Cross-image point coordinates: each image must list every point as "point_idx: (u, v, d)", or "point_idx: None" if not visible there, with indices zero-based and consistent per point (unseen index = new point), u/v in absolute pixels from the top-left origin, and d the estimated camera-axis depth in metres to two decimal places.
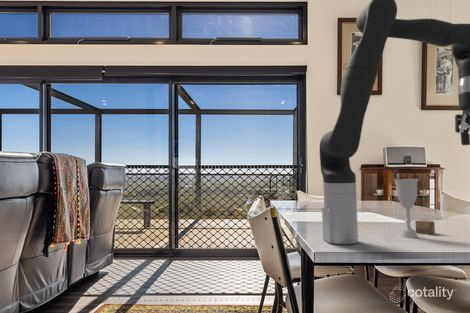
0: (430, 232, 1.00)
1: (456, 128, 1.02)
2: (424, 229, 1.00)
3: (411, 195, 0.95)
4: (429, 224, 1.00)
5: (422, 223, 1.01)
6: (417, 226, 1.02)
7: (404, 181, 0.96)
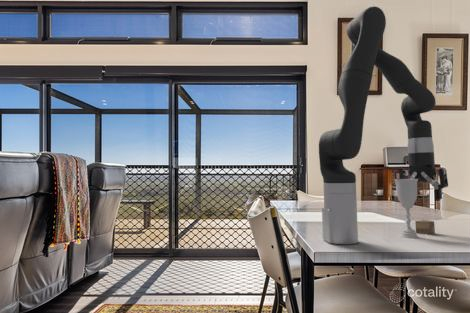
0: (430, 232, 1.00)
1: None
2: (424, 229, 1.00)
3: (411, 195, 0.95)
4: (429, 224, 1.00)
5: (422, 223, 1.01)
6: (417, 226, 1.02)
7: (404, 181, 0.96)
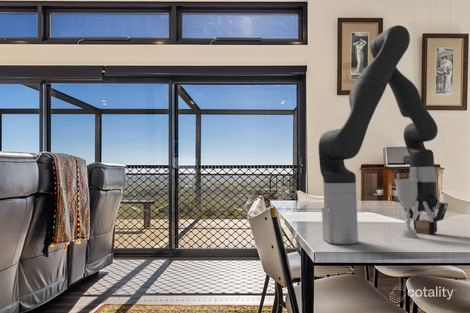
0: None
1: None
2: (424, 229, 1.00)
3: (411, 195, 0.95)
4: (429, 224, 1.00)
5: (422, 223, 1.01)
6: (417, 226, 1.02)
7: (404, 181, 0.96)
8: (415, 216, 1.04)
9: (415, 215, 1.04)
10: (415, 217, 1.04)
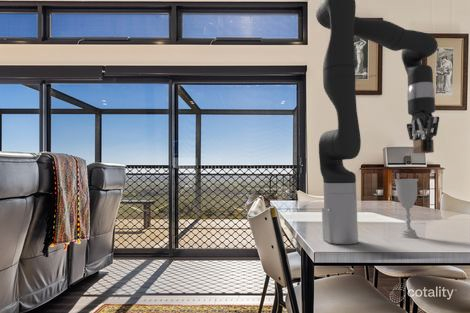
0: None
1: None
2: (418, 147, 0.98)
3: (411, 195, 0.95)
4: (422, 141, 0.97)
5: (417, 141, 0.98)
6: (414, 145, 1.00)
7: (404, 181, 0.96)
8: (414, 136, 1.01)
9: (414, 135, 1.01)
10: (414, 137, 1.01)
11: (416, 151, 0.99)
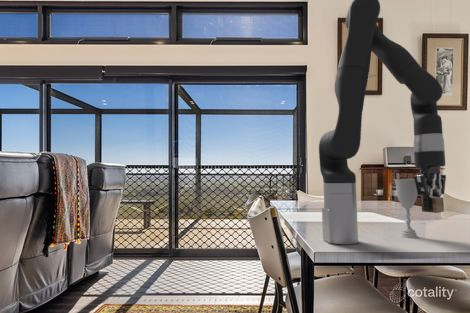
0: None
1: (427, 191, 0.85)
2: None
3: (411, 195, 0.95)
4: None
5: None
6: None
7: (404, 181, 0.96)
8: None
9: None
10: None
11: None
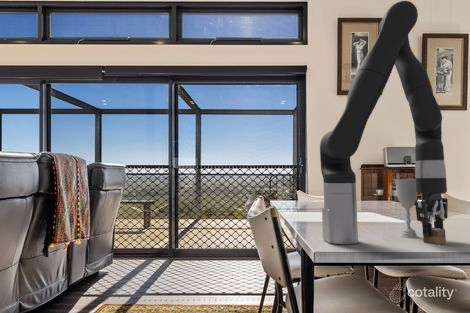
0: (427, 241, 0.87)
1: (426, 217, 0.84)
2: None
3: (411, 195, 0.95)
4: None
5: None
6: None
7: (404, 181, 0.96)
8: None
9: None
10: None
11: None
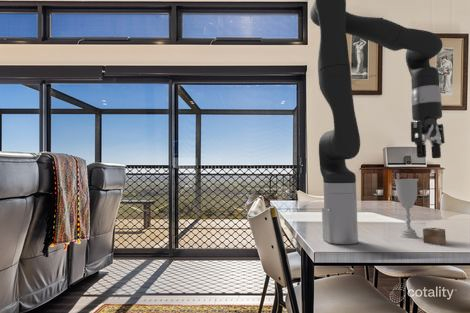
0: (427, 241, 0.87)
1: (420, 136, 0.87)
2: None
3: (411, 195, 0.95)
4: (425, 231, 0.88)
5: None
6: None
7: (404, 181, 0.96)
8: None
9: None
10: None
11: None
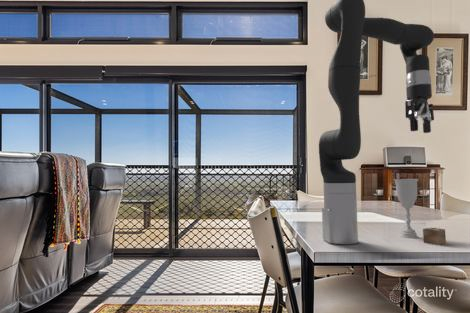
0: (427, 241, 0.87)
1: (413, 112, 1.03)
2: None
3: (411, 195, 0.95)
4: (425, 231, 0.88)
5: None
6: None
7: (404, 181, 0.96)
8: None
9: None
10: None
11: None
